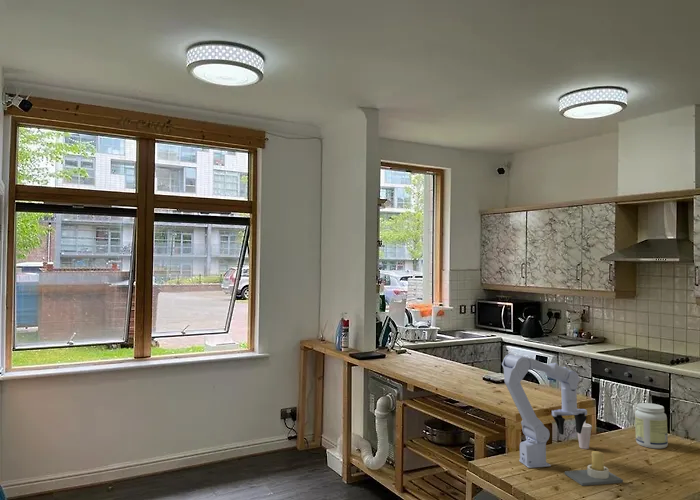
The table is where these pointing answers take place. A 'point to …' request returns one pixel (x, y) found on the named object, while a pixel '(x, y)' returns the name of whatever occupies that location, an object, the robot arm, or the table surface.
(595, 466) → the peg
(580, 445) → the smoothie
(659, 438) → the supplement tub
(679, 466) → the table surface
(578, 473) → the holder
